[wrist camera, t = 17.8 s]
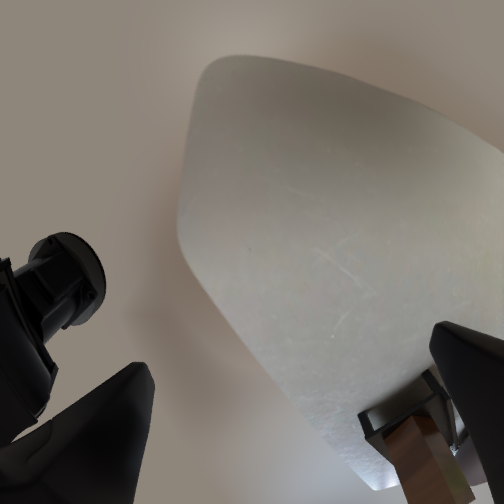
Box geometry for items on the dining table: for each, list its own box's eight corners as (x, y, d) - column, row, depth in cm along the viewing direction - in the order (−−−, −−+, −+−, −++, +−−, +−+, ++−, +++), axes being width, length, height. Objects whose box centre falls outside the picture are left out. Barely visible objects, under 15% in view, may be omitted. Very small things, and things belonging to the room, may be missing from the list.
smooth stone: (501, 374, 27) (544, 425, 13) (533, 376, 30) (563, 410, 15) (418, 464, 34) (440, 515, 19) (472, 449, 36) (492, 485, 22)
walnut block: (383, 440, 22) (417, 532, 9) (411, 414, 21) (457, 509, 8) (405, 441, 23) (440, 521, 10) (432, 417, 22) (475, 498, 9)
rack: (397, 458, 31) (406, 481, 26) (356, 414, 26) (369, 450, 21) (446, 427, 30) (458, 448, 24) (428, 367, 24) (450, 397, 19)
